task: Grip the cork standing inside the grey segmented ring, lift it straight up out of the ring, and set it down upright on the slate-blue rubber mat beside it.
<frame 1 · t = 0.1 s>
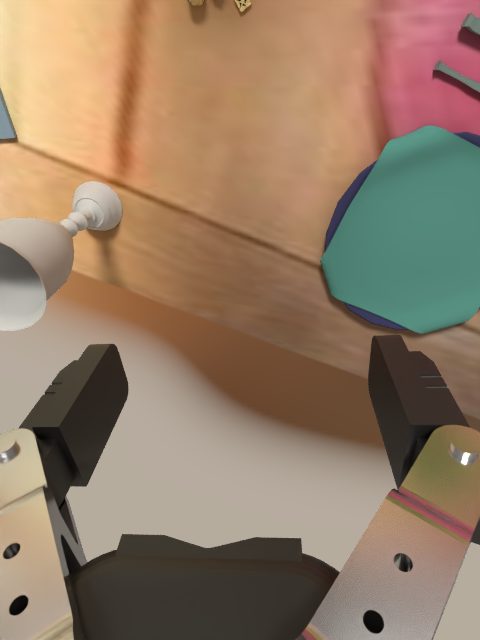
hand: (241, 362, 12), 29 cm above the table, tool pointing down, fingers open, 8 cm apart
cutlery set: (453, 190, 37), on the table
chalice: (98, 206, 40), on the table
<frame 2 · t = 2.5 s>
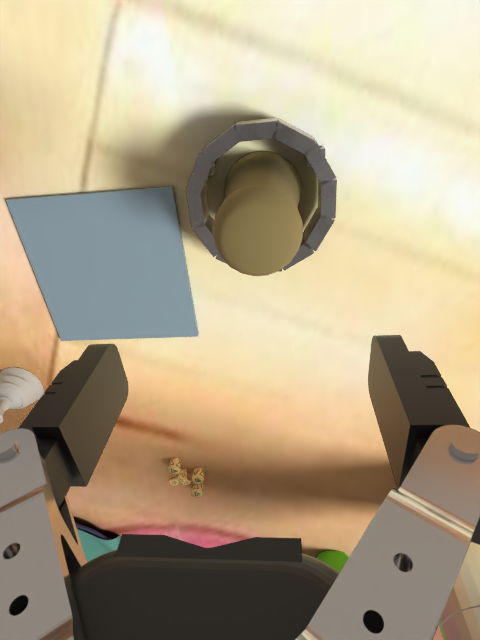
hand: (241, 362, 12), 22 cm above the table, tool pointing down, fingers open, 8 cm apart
cork: (262, 191, 31), resting in grey segmented ring
rubber mat: (111, 271, 35), on the table
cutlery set: (100, 551, 63), on the table
dice set: (190, 468, 50), on the table
cup: (332, 558, 57), on the table
grey segmented ring: (262, 192, 31), on the table
chalice: (22, 384, 44), on the table
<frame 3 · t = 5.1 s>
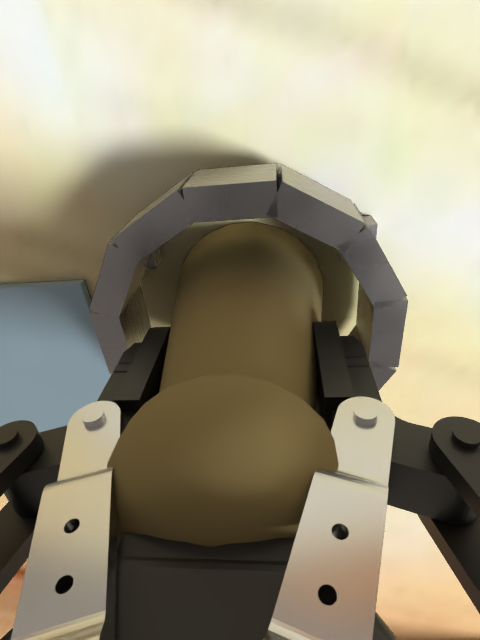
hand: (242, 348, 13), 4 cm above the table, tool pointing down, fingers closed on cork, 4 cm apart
cork: (250, 290, 17), resting in grey segmented ring, touching gripper
grey segmented ring: (250, 293, 16), on the table
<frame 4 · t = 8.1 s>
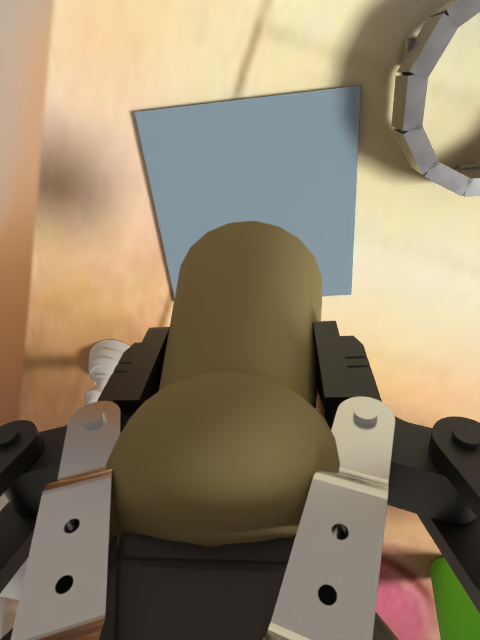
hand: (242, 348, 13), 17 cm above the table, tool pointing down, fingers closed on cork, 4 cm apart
cork: (249, 289, 17), point 13 cm above the table, touching gripper
rubber mat: (253, 210, 28), on the table
cup: (450, 564, 50), on the table
chalice: (116, 360, 37), on the table
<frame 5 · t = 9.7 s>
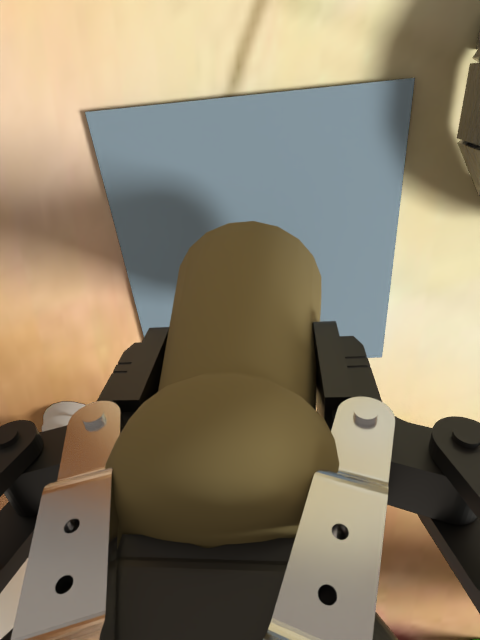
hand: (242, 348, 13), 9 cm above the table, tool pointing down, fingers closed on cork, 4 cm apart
cork: (248, 289, 17), point 5 cm above the table, touching gripper
rubber mat: (254, 248, 21), on the table
chalice: (78, 425, 29), on the table
when the fingers open (6 cm above the table, at t = 11.2 s): cork drops 1 cm, resting on rubber mat.
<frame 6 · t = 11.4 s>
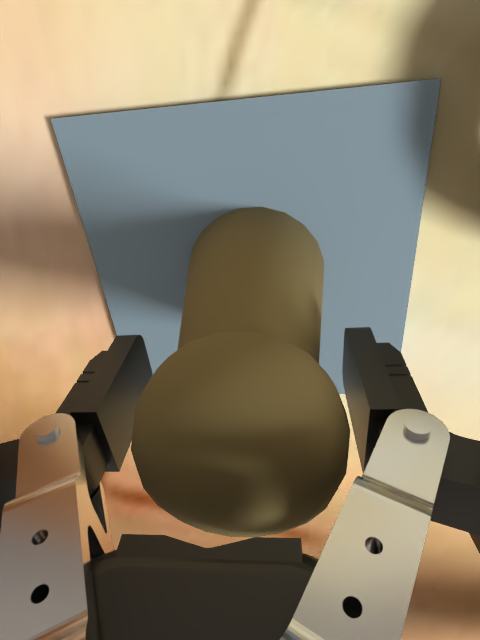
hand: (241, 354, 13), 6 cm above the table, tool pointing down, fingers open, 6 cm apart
cork: (255, 272, 18), resting on rubber mat
rubber mat: (250, 274, 18), on the table
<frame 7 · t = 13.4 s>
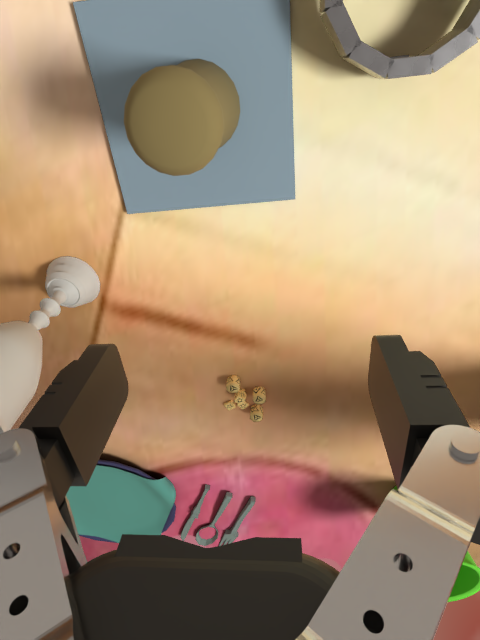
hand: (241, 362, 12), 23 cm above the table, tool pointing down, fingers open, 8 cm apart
cork: (199, 108, 29), resting on rubber mat
rubber mat: (196, 110, 29), on the table
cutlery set: (144, 499, 57), on the table
dice set: (247, 390, 45), on the table
cup: (409, 491, 52), on the table
chalice: (74, 280, 37), on the table
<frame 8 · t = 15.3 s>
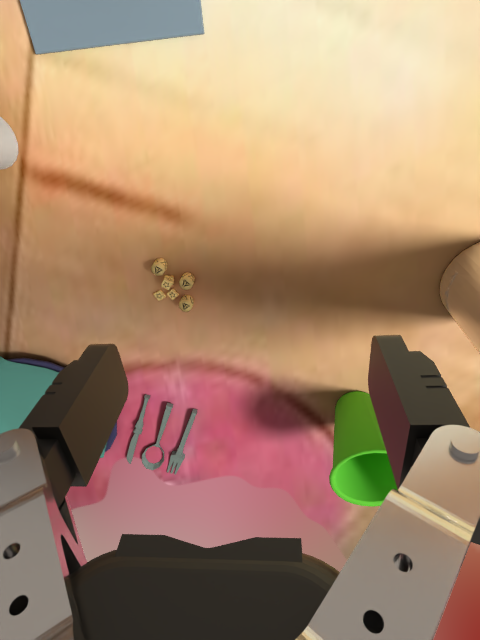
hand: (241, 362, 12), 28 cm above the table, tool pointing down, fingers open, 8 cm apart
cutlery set: (87, 415, 56), on the table
dice set: (177, 280, 44), on the table
cup: (355, 404, 50), on the table
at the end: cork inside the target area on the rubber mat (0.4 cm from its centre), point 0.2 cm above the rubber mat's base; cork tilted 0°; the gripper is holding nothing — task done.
